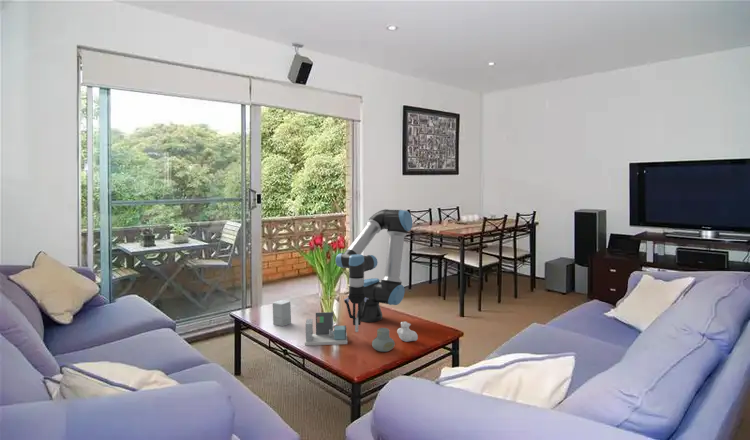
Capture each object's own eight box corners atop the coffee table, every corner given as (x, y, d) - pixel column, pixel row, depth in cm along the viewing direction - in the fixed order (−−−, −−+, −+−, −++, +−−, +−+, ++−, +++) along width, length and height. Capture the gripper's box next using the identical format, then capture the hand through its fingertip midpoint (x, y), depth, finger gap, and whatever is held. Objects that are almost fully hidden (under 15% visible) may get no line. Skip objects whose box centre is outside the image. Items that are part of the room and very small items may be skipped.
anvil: (312, 335, 235) (312, 318, 234) (312, 341, 227) (311, 323, 226) (306, 336, 235) (306, 319, 234) (305, 341, 227) (305, 324, 226)
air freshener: (386, 344, 227) (386, 325, 226) (397, 349, 220) (397, 329, 219) (369, 349, 220) (368, 329, 219) (379, 355, 214) (379, 334, 213)
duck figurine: (396, 342, 236) (388, 328, 230) (403, 330, 241) (395, 317, 234) (416, 347, 229) (408, 334, 223) (422, 335, 233) (415, 321, 227)
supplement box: (291, 323, 261) (291, 301, 259) (282, 326, 254) (281, 304, 253) (281, 320, 265) (281, 299, 263) (272, 324, 258) (272, 302, 257)
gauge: (346, 333, 238) (345, 315, 237) (346, 339, 230) (346, 320, 229) (329, 334, 237) (329, 316, 236) (329, 339, 229) (328, 321, 228)
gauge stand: (346, 335, 240) (346, 311, 238) (347, 344, 228) (347, 318, 227) (306, 337, 238) (305, 312, 237) (304, 345, 226) (304, 319, 225)
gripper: (368, 283, 235) (369, 328, 237) (343, 284, 234) (343, 329, 236) (370, 286, 227) (370, 333, 230) (343, 287, 226) (344, 334, 228)
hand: (356, 331), depth 233 cm, fingers closed
